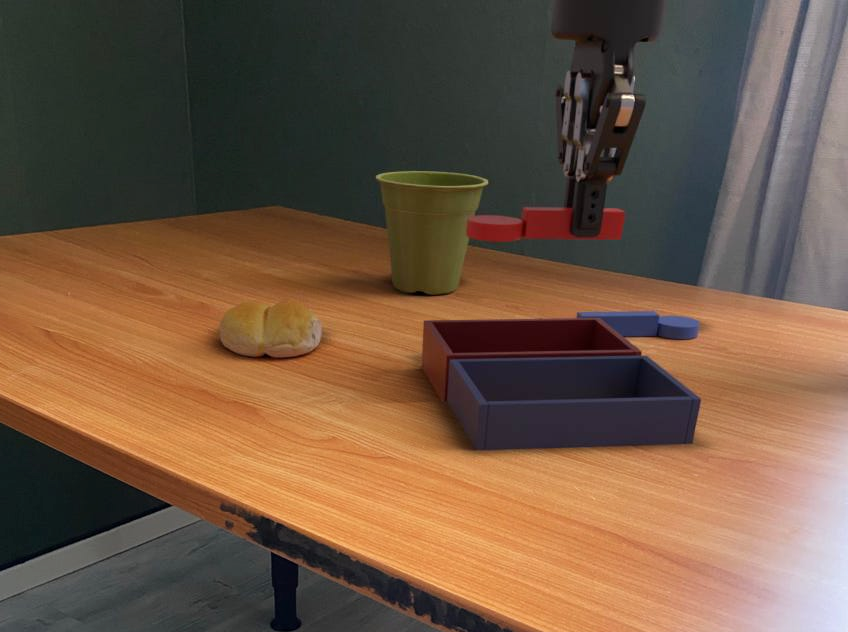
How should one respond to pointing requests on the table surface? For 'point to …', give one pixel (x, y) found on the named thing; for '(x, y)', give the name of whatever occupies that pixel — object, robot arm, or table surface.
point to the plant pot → (428, 227)
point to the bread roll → (270, 329)
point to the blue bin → (570, 402)
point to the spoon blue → (647, 324)
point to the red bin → (515, 342)
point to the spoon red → (540, 225)
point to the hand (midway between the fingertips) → (580, 232)
